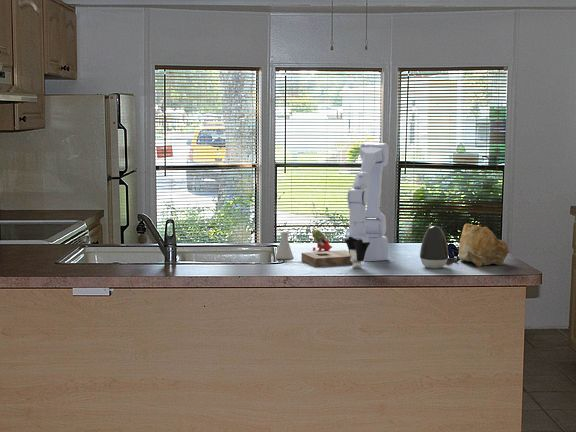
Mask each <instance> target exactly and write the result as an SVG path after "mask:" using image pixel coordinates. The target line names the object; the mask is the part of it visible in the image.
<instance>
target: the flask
mask: <svg viewBox="0 0 576 432" xmlns="http://www.w3.org/2000/svg"><path fill="white" fill-rule="evenodd" d="M288 237H289V232H288V231H280V241H279V245H278V247H277V250H276V252H275V256H274V259H278V260H291V259H294V254H293V252H292V249H291V246H290V242H289V238H288Z"/></svg>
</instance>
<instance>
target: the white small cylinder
mask: <svg viewBox="0 0 576 432" xmlns="http://www.w3.org/2000/svg"><path fill="white" fill-rule="evenodd" d="M350 261H352V264H351V267H352V269H355V270H356V269H362V263H363V262H365V261H364V260H363V261H357V254H356V249H350Z"/></svg>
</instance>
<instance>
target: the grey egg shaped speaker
mask: <svg viewBox="0 0 576 432" xmlns="http://www.w3.org/2000/svg"><path fill="white" fill-rule="evenodd" d="M448 250H449V249H448V244H447V239H446V236H445V233H444V231H443V229H442V228H441V227H440V226H438V225H429V226H428V228H427V230H426V231H425V234H424V236H423V239H422V242H421V246H420V251H419V258H420V262H421V263H422V265H423V266H424V267H426V268H428V269H434V270H435V269H441V268H443V267H444V266H445V265H446V264H447V262H448V259H449V251H448Z"/></svg>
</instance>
